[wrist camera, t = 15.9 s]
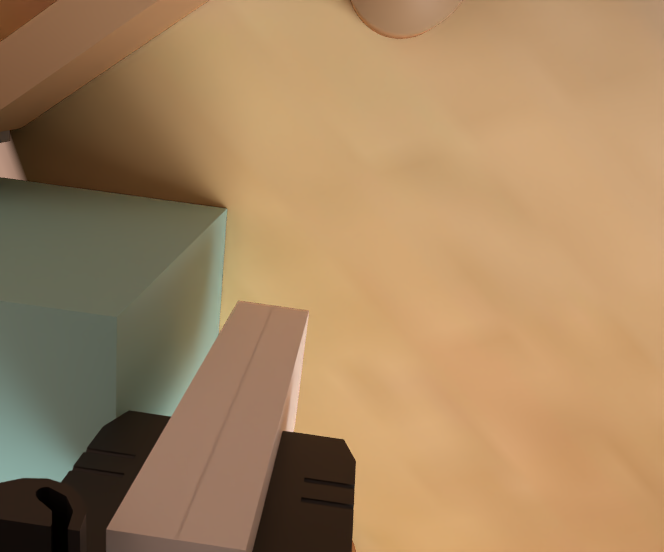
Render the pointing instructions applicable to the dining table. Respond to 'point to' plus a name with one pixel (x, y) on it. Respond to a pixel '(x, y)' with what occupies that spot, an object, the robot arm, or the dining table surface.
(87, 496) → the robot arm
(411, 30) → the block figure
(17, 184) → the pale green block
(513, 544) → the dining table surface
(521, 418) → the dining table surface
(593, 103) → the dining table surface
